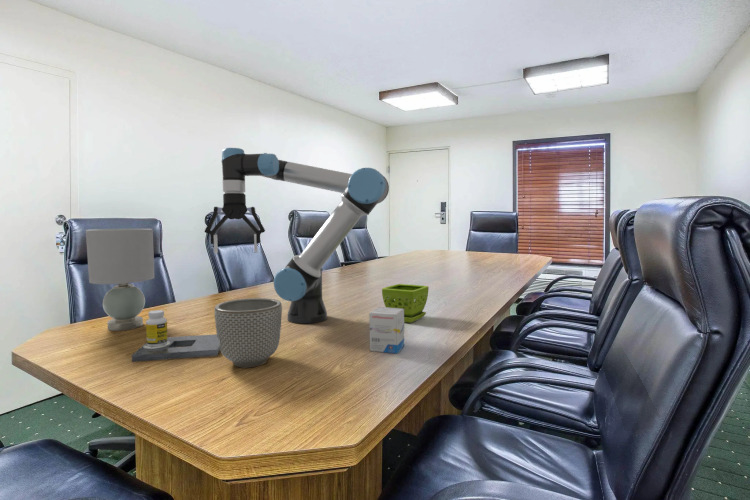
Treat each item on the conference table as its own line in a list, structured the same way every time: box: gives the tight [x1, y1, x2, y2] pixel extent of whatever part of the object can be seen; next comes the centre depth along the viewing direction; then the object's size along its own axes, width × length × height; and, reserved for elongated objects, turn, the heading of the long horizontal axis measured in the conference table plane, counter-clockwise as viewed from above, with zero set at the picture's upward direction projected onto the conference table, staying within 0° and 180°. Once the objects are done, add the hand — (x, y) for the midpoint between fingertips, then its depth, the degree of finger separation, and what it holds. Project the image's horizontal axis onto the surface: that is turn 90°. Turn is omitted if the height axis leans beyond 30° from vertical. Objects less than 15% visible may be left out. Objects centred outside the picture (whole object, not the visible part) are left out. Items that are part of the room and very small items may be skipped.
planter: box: [214, 297, 283, 369], centre depth 108 cm, size 17×17×16 cm
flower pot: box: [381, 283, 430, 323], centre depth 154 cm, size 14×14×13 cm
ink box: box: [368, 306, 405, 355], centre depth 120 cm, size 9×8×12 cm
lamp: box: [85, 228, 156, 332], centre depth 144 cm, size 20×20×35 cm
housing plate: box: [131, 333, 221, 363], centre depth 120 cm, size 22×16×2 cm
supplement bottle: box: [145, 309, 168, 346], centre depth 118 cm, size 5×5×10 cm
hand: (236, 252), depth 144 cm, fingers open, 13 cm apart
